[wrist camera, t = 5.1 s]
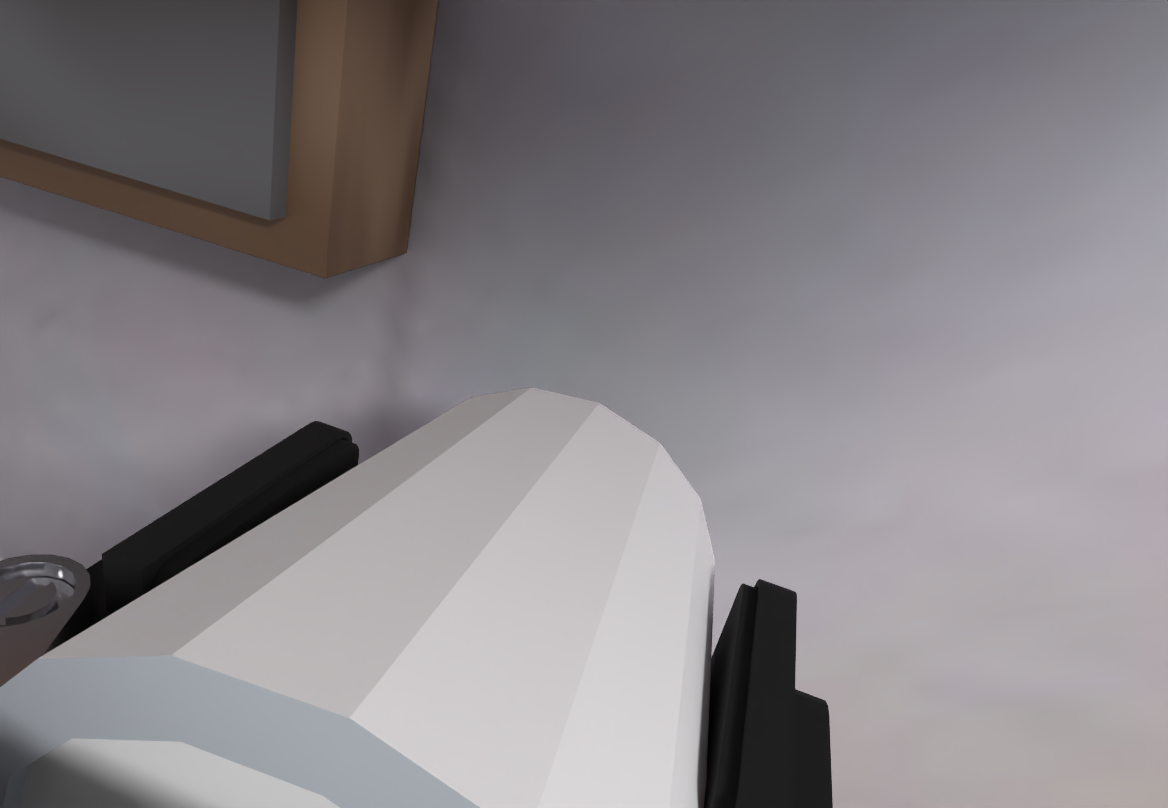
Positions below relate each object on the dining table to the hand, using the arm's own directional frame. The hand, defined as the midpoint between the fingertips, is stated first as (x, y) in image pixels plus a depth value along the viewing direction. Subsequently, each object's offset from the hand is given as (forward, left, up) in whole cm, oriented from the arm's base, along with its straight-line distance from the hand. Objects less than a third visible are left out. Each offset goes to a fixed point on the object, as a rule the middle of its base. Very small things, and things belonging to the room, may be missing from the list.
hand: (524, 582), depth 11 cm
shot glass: (0, 0, -1) cm, 1 cm away
